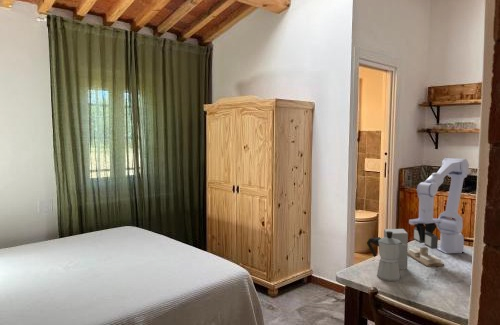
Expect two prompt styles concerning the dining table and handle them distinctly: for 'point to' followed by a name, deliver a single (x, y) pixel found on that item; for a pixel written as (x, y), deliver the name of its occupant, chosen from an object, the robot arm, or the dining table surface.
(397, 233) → the skincare box
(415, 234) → the grey upright panel
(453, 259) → the dining table surface
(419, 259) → the display stand
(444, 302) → the dining table surface
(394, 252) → the coffee maker
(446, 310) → the dining table surface
